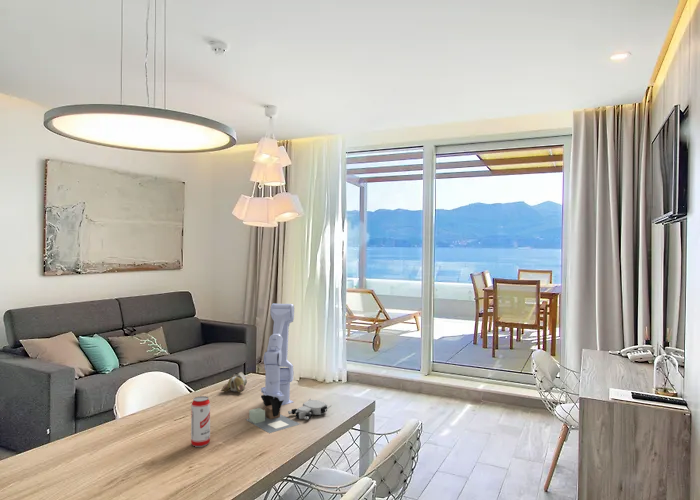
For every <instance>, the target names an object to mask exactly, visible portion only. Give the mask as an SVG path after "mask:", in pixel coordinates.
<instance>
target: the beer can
mask: <svg viewBox="0 0 700 500" xmlns="http://www.w3.org/2000/svg"><path fill="white" fill-rule="evenodd" d="M190 411H191V412H190V413H191V416H190V417H191V418H190V419H191V420H190V421H191V423H190V424H191V425H190V426H191V429H190V431H191V432H190V442H191V443H190V444H191V445H192V446H193V447H194V446H195V448H204V447H206V446H207V445H209V443H210V440H211V401H210V400H209V397H208V396H205V395H202V396H195V397H193V398H192V402H191V410H190ZM203 446H204V447H203Z"/></svg>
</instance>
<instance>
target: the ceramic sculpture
mask: <svg viewBox="0 0 700 500" xmlns="http://www.w3.org/2000/svg"><path fill="white" fill-rule="evenodd" d="M247 382H248V379H247V378H246V376H245V374H244V373H243V371H240V372H239V373H238V372H236V373H234V374H233V375H232V376H230V378H229V380H228V381H227V383H225V384H224V385H223V386H222V388H221V389H220V391H221V392H225V393H226V392H229V391H231V392H238V393H241V392H242V393H243V391H245V387H246V385H247Z"/></svg>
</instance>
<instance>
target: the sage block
mask: <svg viewBox="0 0 700 500" xmlns="http://www.w3.org/2000/svg"><path fill="white" fill-rule="evenodd" d="M248 414H249V415H248V419H249V421H251V422H253V423H255V424H256V423H259V422H263V421H265V409H262V408H261V407H258V408H253V409H249V410H248Z"/></svg>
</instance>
